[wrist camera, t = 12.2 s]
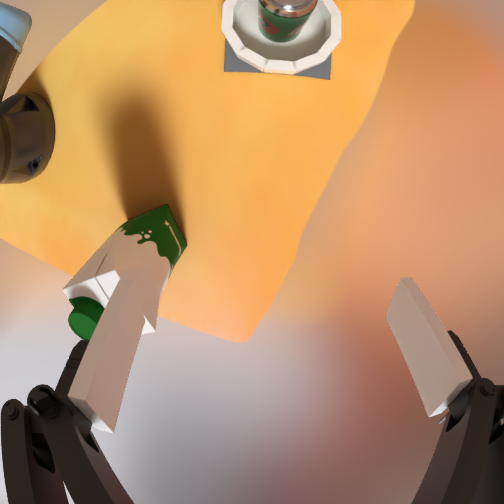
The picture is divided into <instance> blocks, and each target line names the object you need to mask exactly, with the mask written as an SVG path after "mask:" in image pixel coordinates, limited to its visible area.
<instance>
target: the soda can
mask: <svg viewBox="0 0 504 504" xmlns="http://www.w3.org/2000/svg"><path fill="white" fill-rule="evenodd" d="M317 2H318V0H258V27H259V30H260V32H261V33H262V35H263V36H264V37H265V38H267V39H268V40H270V41H273V42H277V43H285V42H289V41H292V40H294V39H295V38H296V37H297V36H298V35H299V34H300V32H301V30H302V29H303V27H304V25H305V24H306V22H307V20H308V19H309V17H310V16H311V14H312V12H313V11H314V9H315V7H316V5H317Z"/></svg>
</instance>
